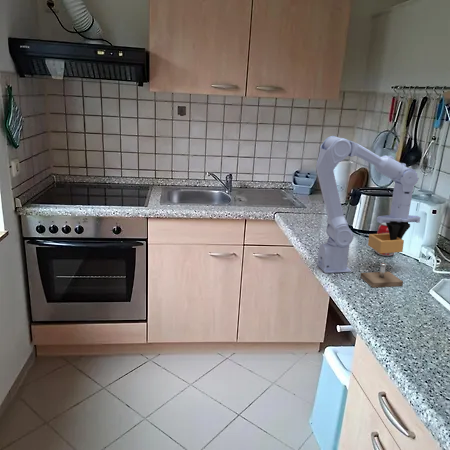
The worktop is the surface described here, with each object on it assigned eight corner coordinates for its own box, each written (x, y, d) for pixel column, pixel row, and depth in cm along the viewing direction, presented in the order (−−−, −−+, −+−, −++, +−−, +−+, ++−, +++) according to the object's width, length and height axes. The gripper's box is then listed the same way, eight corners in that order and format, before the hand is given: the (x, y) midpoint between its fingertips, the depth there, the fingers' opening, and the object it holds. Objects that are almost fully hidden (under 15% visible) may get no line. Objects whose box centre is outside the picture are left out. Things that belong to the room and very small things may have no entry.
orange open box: (380, 253, 136) (381, 241, 135) (368, 245, 144) (369, 234, 143) (402, 251, 137) (403, 240, 136) (389, 244, 145) (390, 233, 144)
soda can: (378, 249, 162) (382, 219, 159) (396, 253, 158) (401, 223, 155) (371, 254, 157) (375, 223, 154) (390, 258, 153) (395, 227, 149)
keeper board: (372, 287, 128) (375, 269, 126) (360, 277, 135) (362, 259, 133) (402, 286, 129) (405, 268, 128) (388, 275, 137) (391, 258, 135)
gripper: (387, 206, 132) (381, 247, 136) (428, 206, 134) (421, 246, 138) (375, 201, 139) (370, 240, 142) (415, 201, 141) (409, 239, 145)
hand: (394, 242), depth 141 cm, fingers closed on orange open box
